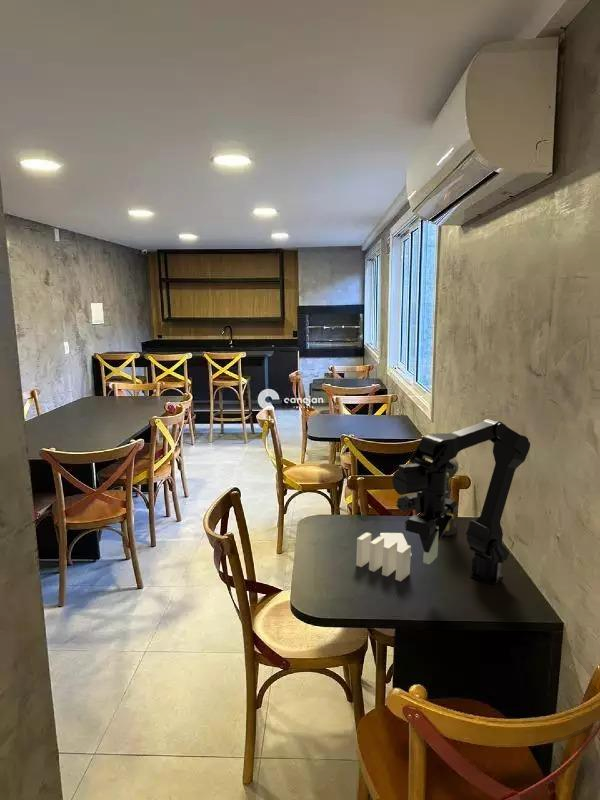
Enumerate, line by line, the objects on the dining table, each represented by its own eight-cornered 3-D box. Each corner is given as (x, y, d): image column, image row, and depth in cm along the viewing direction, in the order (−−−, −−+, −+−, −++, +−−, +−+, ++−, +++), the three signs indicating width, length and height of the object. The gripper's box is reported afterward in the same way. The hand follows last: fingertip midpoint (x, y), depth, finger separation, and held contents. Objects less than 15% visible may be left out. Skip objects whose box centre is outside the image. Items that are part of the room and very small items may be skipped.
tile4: (383, 564, 147) (384, 537, 146) (374, 571, 144) (375, 544, 142) (378, 563, 148) (379, 536, 147) (368, 570, 144) (369, 542, 143)
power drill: (459, 546, 159) (464, 466, 155) (428, 543, 161) (432, 463, 156) (453, 520, 179) (458, 448, 174) (426, 517, 180) (430, 446, 176)
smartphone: (387, 555, 152) (379, 532, 167) (386, 557, 153) (379, 535, 167) (412, 555, 152) (402, 532, 167) (412, 558, 153) (402, 535, 167)
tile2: (409, 573, 143) (411, 546, 141) (400, 581, 139) (402, 552, 137) (404, 572, 144) (405, 544, 142) (395, 579, 140) (396, 551, 138)
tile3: (396, 569, 145) (397, 541, 144) (387, 576, 141) (388, 548, 140) (390, 567, 146) (392, 540, 145) (381, 574, 142) (383, 546, 141)
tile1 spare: (437, 556, 133) (438, 526, 131) (429, 564, 129) (430, 533, 128) (431, 554, 134) (432, 524, 132) (423, 562, 130) (424, 531, 128)
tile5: (370, 560, 150) (371, 533, 148) (361, 567, 146) (362, 539, 144) (365, 558, 151) (366, 532, 149) (356, 565, 147) (357, 538, 145)
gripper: (418, 471, 140) (416, 526, 143) (385, 491, 125) (383, 553, 128) (460, 479, 134) (457, 537, 136) (430, 502, 119) (427, 566, 122)
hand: (431, 548), depth 131 cm, fingers closed on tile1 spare, 5 cm apart
